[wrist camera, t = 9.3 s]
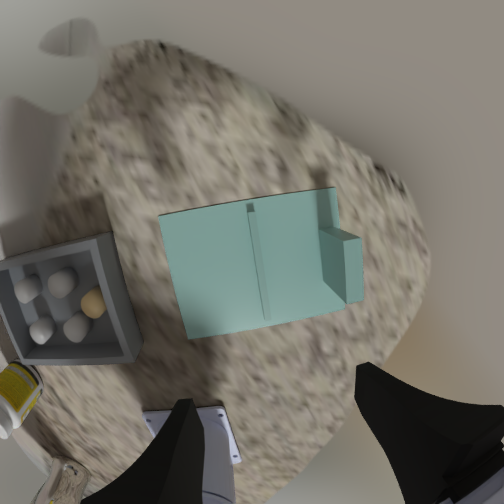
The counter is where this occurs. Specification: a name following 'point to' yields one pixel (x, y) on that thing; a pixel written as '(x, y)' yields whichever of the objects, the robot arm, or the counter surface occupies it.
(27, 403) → the supplement bottle
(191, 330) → the lid
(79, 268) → the tub
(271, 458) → the counter surface
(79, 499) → the beer glass
